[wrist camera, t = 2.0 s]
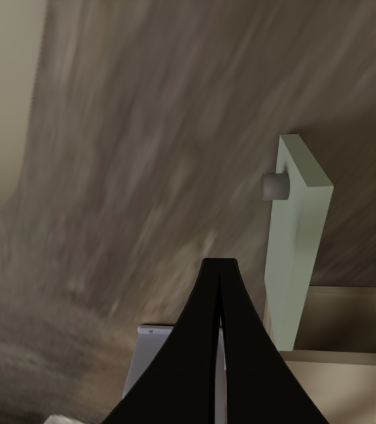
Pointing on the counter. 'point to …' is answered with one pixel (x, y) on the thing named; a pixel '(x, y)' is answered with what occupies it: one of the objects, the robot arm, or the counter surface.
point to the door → (293, 233)
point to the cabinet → (336, 352)
